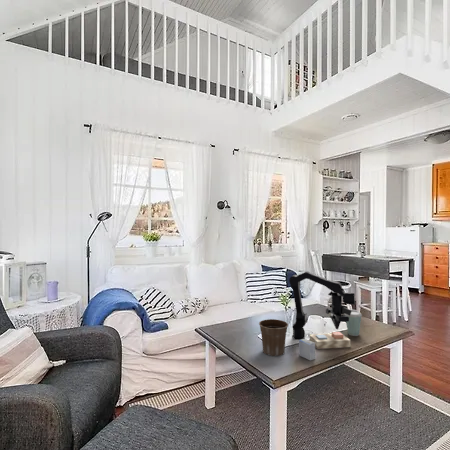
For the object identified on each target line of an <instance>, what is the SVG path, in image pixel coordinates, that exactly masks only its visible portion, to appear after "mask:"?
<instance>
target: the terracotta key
mask: <svg viewBox="0 0 450 450" xmlns="http://www.w3.org/2000/svg"><path fill="white" fill-rule="evenodd" d="M331 333H332V337H334V338H335V339H340V338H343V335H344V334H343V333H342V332H340V331H331Z"/></svg>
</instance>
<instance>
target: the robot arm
mask: <svg viewBox="0 0 450 450" xmlns="http://www.w3.org/2000/svg"><path fill="white" fill-rule="evenodd" d="M306 279H307V280H309V281H312V282H314V283H317V284H319V285H322V286H324V287H326V289H329V291H330V292H329V293H328V294H327V295H328V296H331V303H330V307H331V308H326V309H325V314H327V315H329V314H330V315H329V317H330V319H331V321H332V324H333V325H334V328H335V330H339V327H340V325H341V323H342V322H345V323H346V322H348V321H349V317H348V316H346V315H344V313H345V314H348V315H349V316H350V315H351V310H350V309H349V308H347V306H346V305H353V306H354V305H355V306H356V296H355V295H356V294H355V292H346V291H345V289H344V288H343V285H342V283H341V282H339V281H337V280H330V279H327V278H324V277H322V276H319V275H317V274H314V273H312V272H310V271H308V270H307V271H304V272H302V273H299V274H293V275H292V276H290V277H289V279H288V282H289V284H290V287H291V289H292V293H293V299H294V305H295V310H296V311H295V312H296V314H295V322H294V323H293V324H292V335H291V337H292V338H293V339H294V340H295V341H296V340H297V341H299V340H301V339H306V338H305V337H306V331H305V328H304V327H305V326H306V324H307V322H308V320H309V319H308V314H307V313H305V312H304V309H303V301H302V295H301V290H300V289H301V282H302V281H304V280H306ZM343 303H344V304H345V305H344V304H343Z"/></svg>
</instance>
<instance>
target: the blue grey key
mask: <svg viewBox="0 0 450 450" xmlns="http://www.w3.org/2000/svg"><path fill="white" fill-rule="evenodd" d="M316 338H318V339H319V340H321V339H327V337H326V336H325V335H316Z"/></svg>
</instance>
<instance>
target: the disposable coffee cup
mask: <svg viewBox="0 0 450 450" xmlns="http://www.w3.org/2000/svg"><path fill="white" fill-rule="evenodd" d="M350 310H351V315H350V316H349V315H348V314H345V313H344V314H343V315H346V316H348V317H349V321H348V322H345V325H346V329H347V333H348V335H349V336H353V337H358V336H359V334H360V329H361V321H362V316H363V315H362V313H361V312H360V311H359V310H356V309H350Z"/></svg>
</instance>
